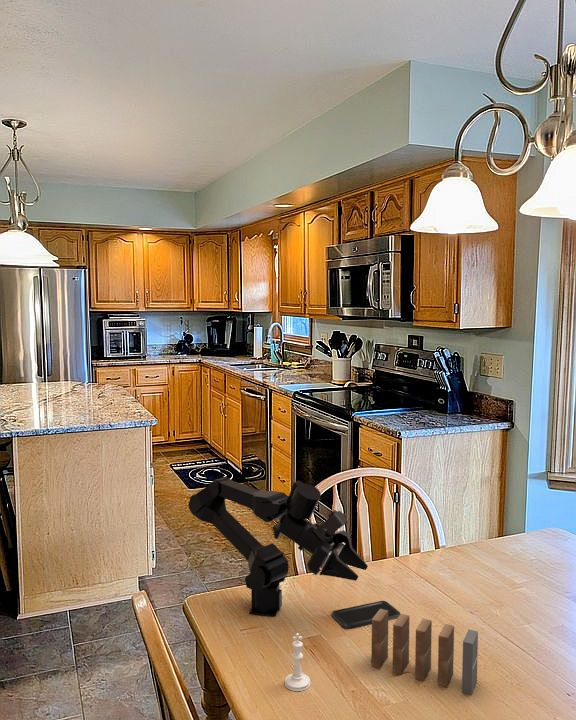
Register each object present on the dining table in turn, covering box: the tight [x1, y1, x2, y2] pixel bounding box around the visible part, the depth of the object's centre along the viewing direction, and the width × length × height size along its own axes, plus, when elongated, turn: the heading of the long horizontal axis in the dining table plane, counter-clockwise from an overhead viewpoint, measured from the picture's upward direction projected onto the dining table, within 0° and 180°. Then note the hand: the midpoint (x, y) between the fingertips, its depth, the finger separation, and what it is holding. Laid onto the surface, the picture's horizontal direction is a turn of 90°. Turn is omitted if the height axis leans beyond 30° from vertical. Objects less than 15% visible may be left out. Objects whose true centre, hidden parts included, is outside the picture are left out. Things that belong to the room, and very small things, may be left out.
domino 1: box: [371, 609, 389, 670], centre depth 126 cm, size 2×5×10 cm, turn 152°
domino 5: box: [461, 629, 479, 696], centre depth 118 cm, size 2×5×10 cm, turn 152°
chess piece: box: [284, 632, 311, 692], centre depth 119 cm, size 5×5×10 cm
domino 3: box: [414, 618, 433, 682], centre depth 122 cm, size 2×5×10 cm, turn 152°
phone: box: [331, 600, 401, 630], centre depth 145 cm, size 8×1×15 cm
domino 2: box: [392, 613, 410, 676], centre depth 124 cm, size 2×5×10 cm, turn 152°
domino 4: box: [437, 623, 455, 689], centre depth 120 cm, size 2×5×10 cm, turn 152°
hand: (362, 573), depth 135 cm, fingers open, 9 cm apart
